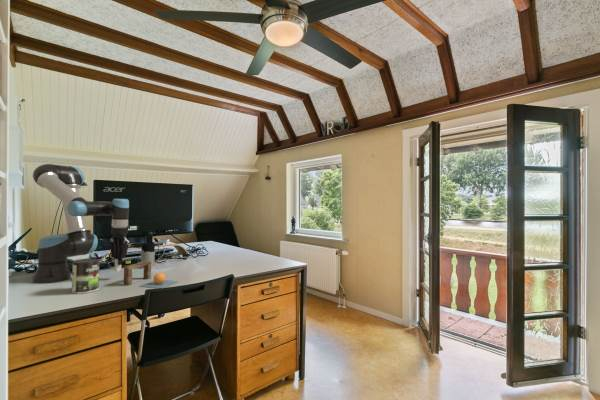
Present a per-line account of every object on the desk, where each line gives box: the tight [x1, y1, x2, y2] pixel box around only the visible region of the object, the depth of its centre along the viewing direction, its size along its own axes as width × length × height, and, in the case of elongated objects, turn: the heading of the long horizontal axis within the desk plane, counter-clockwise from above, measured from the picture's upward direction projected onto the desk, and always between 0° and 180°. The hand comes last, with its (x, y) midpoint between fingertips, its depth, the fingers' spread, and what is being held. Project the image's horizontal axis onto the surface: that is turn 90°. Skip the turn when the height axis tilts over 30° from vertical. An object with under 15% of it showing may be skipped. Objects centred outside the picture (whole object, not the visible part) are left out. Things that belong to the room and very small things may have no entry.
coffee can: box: [71, 258, 100, 295], centre depth 133 cm, size 10×10×14 cm
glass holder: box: [139, 242, 166, 270], centre depth 184 cm, size 9×14×15 cm, turn 115°
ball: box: [152, 272, 166, 284], centre depth 146 cm, size 6×6×6 cm
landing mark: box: [139, 279, 179, 289], centre depth 146 cm, size 13×13×1 cm
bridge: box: [123, 261, 152, 286], centre depth 149 cm, size 3×14×9 cm, turn 164°
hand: (117, 270), depth 153 cm, fingers closed
